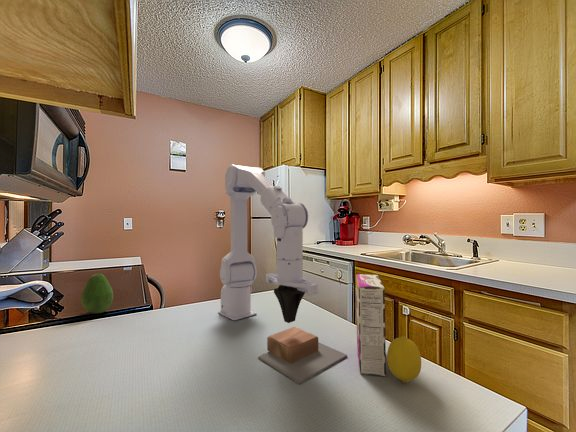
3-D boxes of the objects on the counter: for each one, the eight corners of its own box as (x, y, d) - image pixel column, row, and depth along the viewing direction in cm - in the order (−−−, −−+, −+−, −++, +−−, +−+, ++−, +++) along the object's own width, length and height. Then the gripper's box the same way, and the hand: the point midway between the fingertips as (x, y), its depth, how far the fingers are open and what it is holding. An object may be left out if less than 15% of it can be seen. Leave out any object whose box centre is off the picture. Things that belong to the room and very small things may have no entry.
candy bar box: (355, 347, 62) (355, 273, 62) (379, 349, 61) (378, 274, 61) (358, 375, 51) (357, 285, 51) (386, 378, 50) (386, 286, 50)
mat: (258, 358, 57) (258, 356, 57) (305, 338, 66) (305, 336, 66) (299, 384, 48) (299, 381, 48) (347, 356, 57) (347, 354, 57)
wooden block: (267, 336, 59) (291, 348, 54) (294, 326, 65) (318, 336, 59) (267, 350, 59) (291, 363, 54) (294, 339, 65) (318, 350, 59)
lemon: (383, 373, 51) (382, 329, 51) (413, 373, 51) (413, 330, 51) (393, 391, 46) (393, 343, 46) (427, 392, 46) (427, 343, 46)
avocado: (98, 308, 89) (98, 270, 89) (119, 309, 87) (119, 271, 87) (74, 317, 81) (74, 276, 81) (96, 318, 79) (96, 277, 79)
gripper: (255, 256, 63) (255, 316, 63) (300, 264, 52) (300, 337, 52) (278, 254, 68) (278, 309, 67) (324, 260, 57) (324, 327, 57)
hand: (289, 321), depth 60 cm, fingers closed
